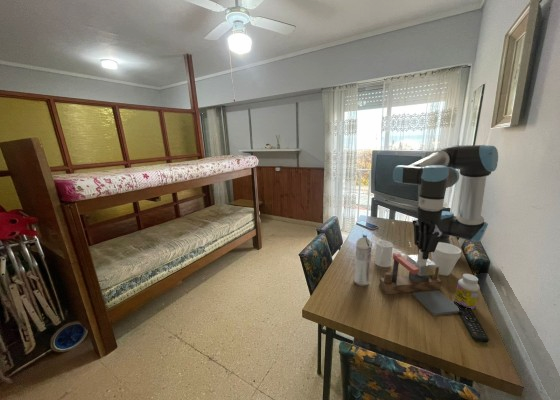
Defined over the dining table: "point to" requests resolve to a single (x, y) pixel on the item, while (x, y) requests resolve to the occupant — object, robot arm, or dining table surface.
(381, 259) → the mug
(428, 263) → the light grey block
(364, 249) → the water bottle
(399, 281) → the brown wooden stand
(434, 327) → the dining table surface
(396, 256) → the lever
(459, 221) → the robot arm
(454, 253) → the cup
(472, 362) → the dining table surface
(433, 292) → the mat
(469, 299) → the supplement bottle
